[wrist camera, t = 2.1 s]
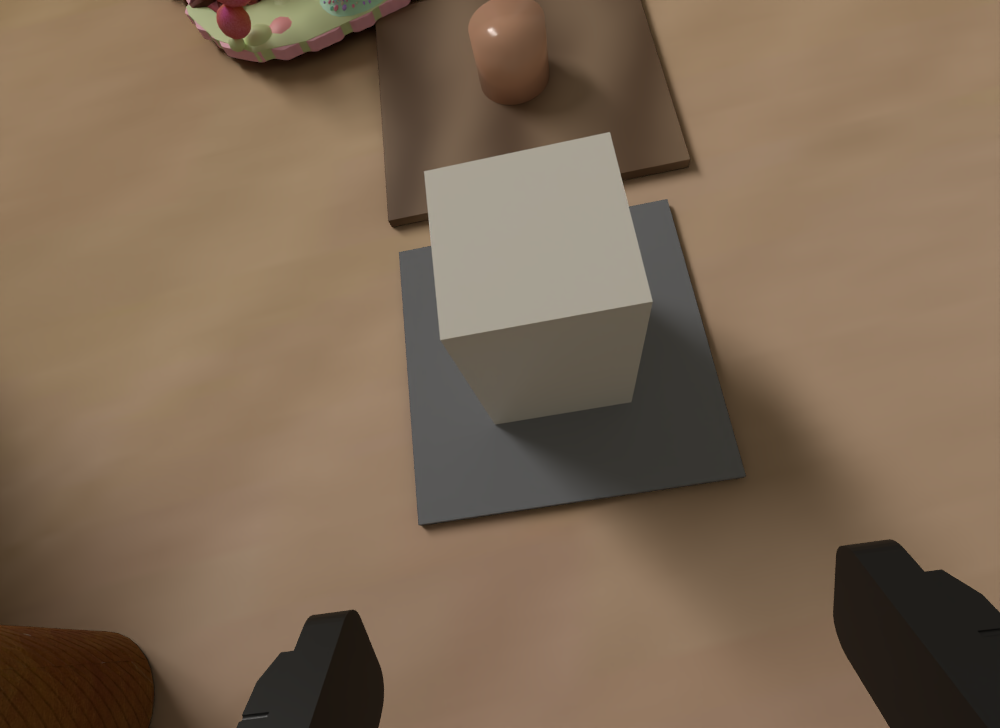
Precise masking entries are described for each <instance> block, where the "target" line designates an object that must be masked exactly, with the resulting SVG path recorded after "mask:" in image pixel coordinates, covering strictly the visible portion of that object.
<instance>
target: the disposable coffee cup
mask: <svg viewBox="0 0 1000 728" xmlns="http://www.w3.org/2000/svg"><path fill="white" fill-rule="evenodd" d="M153 701H154V684H153V679H152V674H151V669H150V667H149V664H148V661H147V659H146V657H145V656H144V654H143V653H142V652H141V650H140V649H139V647H138V646H137V645H136V644H135V643H134V642H133V641H131V640H130V639H129V638H127V637H125V636H123V635H121V634H119V633H113V632H106V631H88V630H72V629H57V628H39V627H24V626H8V625H0V728H148V727H149V724H150V720H151V716H152V711H153Z"/></svg>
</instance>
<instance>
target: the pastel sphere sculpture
mask: <svg viewBox="0 0 1000 728" xmlns="http://www.w3.org/2000/svg"><path fill="white" fill-rule="evenodd" d="M186 1H187V2H188V6H186V10H185V13H186V15H187V16H188V17H189V19H190V20H191V22H192V23H193V24H195V25H196V27H197V29H198V30H199V32H200V33H201V34H202V36H203V37H204V38H205V39H208V40H212V41H214V42H215V43H216V44H217V45H218V47H219V48H221V49H224V51H225V52H226V54H227V55H228V56H230V57H233V58H238V59H243V60H249V61H254V62H261V63H262V62H266V61H268V60H271V59H281V60H290V59H292V58H294V57H296V56H299V55H301V54H303V53H305V52H308V51H313V52H314V51H319V50H321V49H323V48H325V47H328V46H330V45H332V44H334V43H336V42H339V41H341V40H342V39H343V38H344V36H345V35H347V34H349V33H351V32H359V31H362V30H364V29H366V28H369V27H371V26H373V25H374V24H375V22H376V21H377V20H378V19H379V18H381V17H384V16H386V15H388V14H390V13H392V12H395V11H397V10H399V9H400V8H403V7H406V6H407V5H408V4H409V3H410V1H411V0H186Z"/></svg>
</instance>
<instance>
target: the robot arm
mask: <svg viewBox="0 0 1000 728" xmlns="http://www.w3.org/2000/svg"><path fill="white" fill-rule="evenodd" d="M833 617H834V624H835V628H836V632H837V635H838V638H839V641H840V644H841V646H842V648H843V650H844V652H845V654H846V656H847V658H848V660H849V661H850V663H851V665H852V666H853V668H854V670H855V671H856V673H857V674H858V676H859V678H860V679H861V681H862V683H863V684H864V686H865V688H866V689H867V691H868V692H869V694H870V696H871V697H872V699H873V701H874V702H875V704H876V706H877V707H878V709H879V710H880V712H881V714H882V715H883V717H884V719H885V720H886V722H887V724H888V725H889V727H890V728H1000V612H999V611H998V610H997V609H996V608H995V607H994V606H993V605H992V604H991V603H990V602H989V601H988V600H987V599H986V598H985V597H984V596H983V595H982V594H981V593H979V592H977V591H976V590H974V589H972V588H971V587H969V586H968V585H966V584H964V583H963V582H961V581H959V580H958V579H956V578H955V577H953V576H951V575H950V574H948V573H947V572H945V571H943V570H935V571H927V572H924V571H923V569H922V568H921V567H920V566H919V565H918V564H917V563H916V562H915V560H914V559H913V558H912V557H911V556H910V555H909V554H908V553H907V551H906V550H905V549H904V548H903V547H902V546H901V545H900V544H899V543H897V542H896V541H894V540H890V539H889V540H882V541H874V542H867V543H860V544H852V545H845V546H840V547H839V548H838V550H837V553H836V568H835V588H834V608H833ZM383 701H384V683H383V675H382V670H381V667H380V665H379V662H378V660H377V657H376V655H375V652H374V650H373V647H372V645H371V642H370V640H369V637H368V635H367V632H366V630H365V628H364V625H363V623H362V620H361V618H360V616H359V614H358V612H357V611H355V610H348V611H340V612H333V613H326V614H318V615H312V616H310V617H309V618H308V619H307V621H306V622H305V625H304V627H303V629H302V632H301V634H300V637H299V639H298V642H297V644H296V647H295V649H294V651H289V652H281V653H280V654H279V655H278V657H277V658H276V659H275V660H274V662H273V663H272V664H271V665H270V666H269V668H268V669H267V670H266V671H265V673H264V674H263V675H262V676H261V678H260V679H259V680H258V681H257V683H256V685H255V687H254V690H253V692H252V694H251V696H250V699H249V701H248V703H247V705H246V708H245V710H244V712H243V714H242V716H243V719H242V721H241V722H239V723H238V725H237V728H378V727H379V722H380V718H381V713H382V708H383Z"/></svg>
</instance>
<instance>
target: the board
mask: <svg viewBox="0 0 1000 728" xmlns="http://www.w3.org/2000/svg"><path fill="white" fill-rule="evenodd" d="M488 1H490V0H426V1H421V2H417V3H413V4H409V5H407V6H406V7H403V8H400V9H399V10H397V11H395V12H392V13H390V14H388V15H386V16H384V17H381V18H379V19H378V20H377V21H376V22H375V23H376V38H377V54H378V69H379V85H380V100H381V116H382V131H383V146H384V162H385V177H386V193H387V208H388V221H389V223H390V225H391V226H392V227H395V226H400V225H405V224H410V223H414V222H419V221H424V220H429V218H428V208H427V197H426V187H425V176H424V171H428V170H433V169H437V168H442V167H447V166H452V165H456V164H461V163H466V162H470V161H475V160H480V159H485V158H489V157H494V156H499V155H504V154H508V153H513V152H518V151H522V150H527V149H532V148H537V147H541V146H546V145H551V144H556V143H560V142H565V141H570V140H574V139H579V138H584V137H589V136H593V135H598V134H603V133H608V132H610V134H611V138H612V142H613V146H614V150H615V154H616V158H617V162H618V166H619V170H620V174H621V178H622V180H627V179H631V178H636V177H641V176H646V175H651V174H656V173H661V172H666V171H671V170H676V169H681V168H686V167H689V162H690V157H689V153H688V150H687V147H686V144H685V141H684V137H683V134H682V131H681V128H680V125H679V121H678V118H677V115H676V112H675V109H674V105H673V102H672V99H671V96H670V93H669V89H668V86H667V83H666V80H665V77H664V73H663V70H662V67H661V64H660V61H659V57H658V54H657V51H656V48H655V45H654V41H653V38H652V35H651V32H650V29H649V25H648V22H647V19H646V16H645V13H644V9H643V6H642V3H641V0H534V1H536V2H537V3H538V4H539V5H540V6H541V8H542V9H543V12H544V16H545V27H546V39H547V50H548V61H549V73H550V76H549V81H548V83H547V85H546V87H545V89H544V90H543V91H542V92H541V93H540V94H539V95H538V96H536V97H535V98H533V99H532V100H530V101H527V102H525V103H521V104H517V105H503V104H499V103H496V102H494V101H492V100H490V99H489V98H488V97H486V95H485V94H484V93H483V91H482V88H481V84H480V80H479V76H478V71H477V67H476V63H475V58H474V54H473V50H472V45H471V41H470V37H469V32H468V26H469V22H470V19H471V17H472V15H473V14H474V13H475V11H476V10H477V9H478V8H479V7H481V6H482V5H483V4H485V3H486V2H488Z"/></svg>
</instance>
